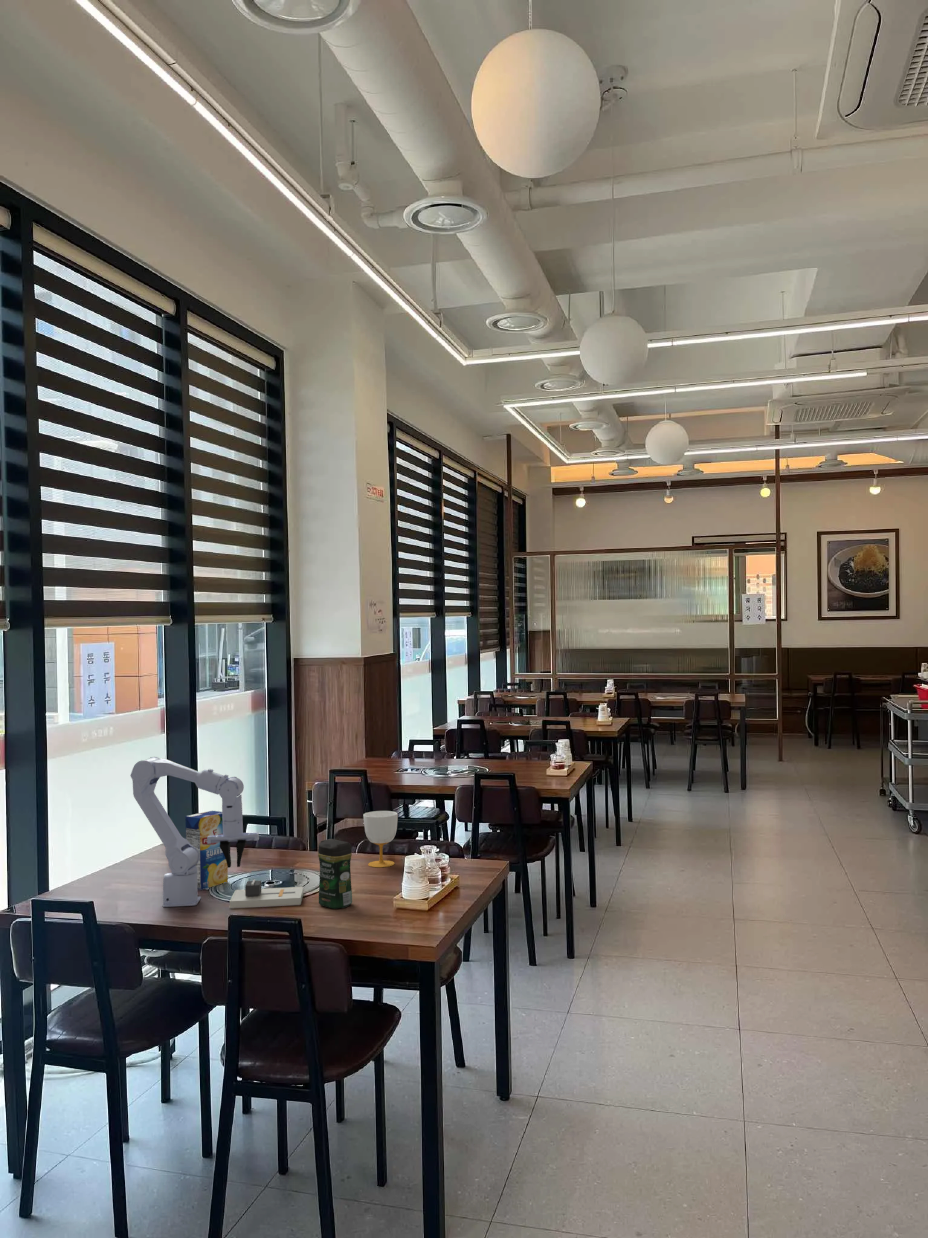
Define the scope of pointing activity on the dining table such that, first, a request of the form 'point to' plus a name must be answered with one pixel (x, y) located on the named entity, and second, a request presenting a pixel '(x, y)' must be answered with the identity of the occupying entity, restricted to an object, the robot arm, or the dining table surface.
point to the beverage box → (207, 848)
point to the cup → (380, 832)
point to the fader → (253, 888)
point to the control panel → (268, 898)
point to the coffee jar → (335, 874)
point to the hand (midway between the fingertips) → (234, 866)
